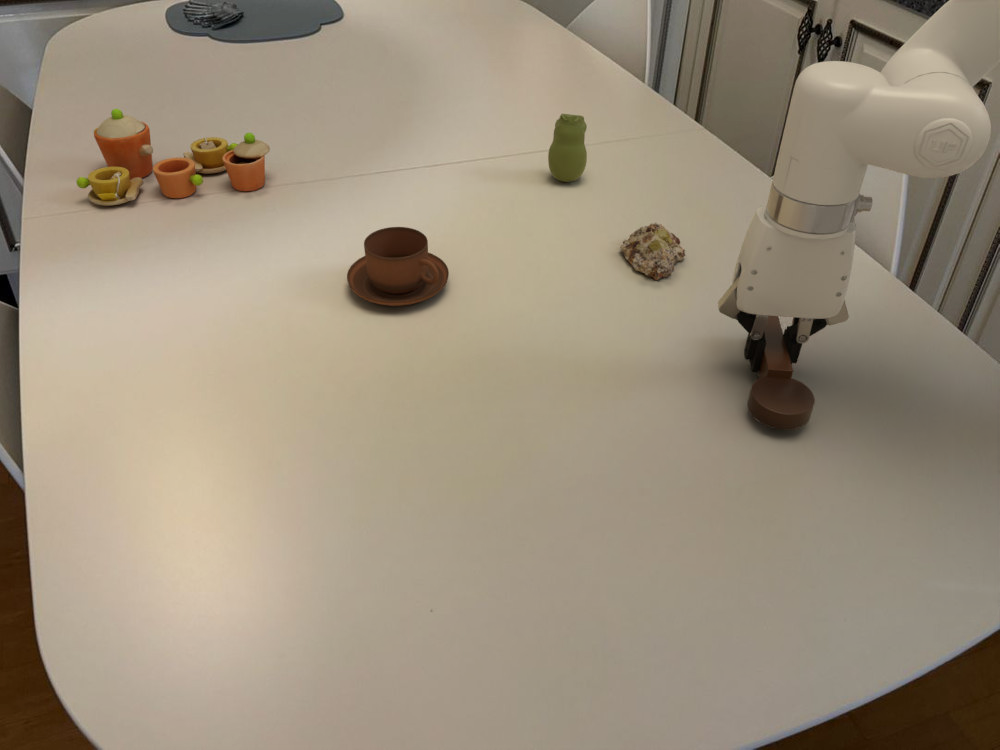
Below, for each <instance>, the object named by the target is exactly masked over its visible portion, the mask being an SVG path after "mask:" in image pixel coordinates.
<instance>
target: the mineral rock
mask: <svg viewBox="0 0 1000 750" xmlns="http://www.w3.org/2000/svg"><path fill="white" fill-rule="evenodd" d="M619 249H620V250H621V251H622V254H624V255H623V256H624V258H625V260H626V261H627V262H628V263H629V264H630V265H631V267H632V268H633V269H634V271H636V272H640V273H642V274H644V275H645V276H647V277H648V278H649V277H651V278H653V279H654V280H655V281H658V280H660V279H661V278H667V277H669V276H672V274H673V272H674V270H675V265H676V263H677V262H681V261H683V259H684V258H685V257H686V249H684V248H683V247H682V246H681V240H680V238H679V237H677V236H676V234H674V233H673V232H671V231H670V230H668V229H667V228H666V227H665V226H664V225H663V224H662V223H657V222H655V223H649V225H644V226H640V227H639V228H638V229H636V230H635V231H634V232H632V233H631V234H629V237H628V239H624V240H622V244H621V245H620V246H619Z"/></svg>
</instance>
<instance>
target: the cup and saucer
mask: <svg viewBox="0 0 1000 750" xmlns="http://www.w3.org/2000/svg"><path fill="white" fill-rule="evenodd" d="M363 249H364V250H363V251H364V256H361V257H360V258H358V259H357V260H356V261H354V262H353V264H351V265H350V266H349V268H348V270H347V273H346V280H347V284H348V286H349V288H350V289H351V291H352V292H353V293H354V294H356V295H357V296H359V297H360V298H362V299H363V300H366V301H367V302H370V303H372V304H377V305H380V306H381V305H382V306H387V307H388V306H389V307H402V306H410V305H415V304H418V303H422V302H425V301H426V300H428V299H429V300H430V299H431V298H433V297H434V296H435V295H437V294H438V293H439V292H440V291H442V290H443V289H444V287H445V286H446V285H447V283H448V280H449V275H450V274H449V273H450V272H449V268H448V265H447V264H446V263H445V261H444V260H443V259H442V258H440V257H439V256H437V255H436V254H433V253H431V252H429V241H428V238H427V236H426V235H425V234H424V233H423V232H421V231H420V230H418V229H415V228H411V227H407V226H406V227H405V226H390V227H384V228H380V229H378V230H374V231H372V232H371V233H370V234H368V235H367V237H366V238H365V239H364V241H363Z"/></svg>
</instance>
